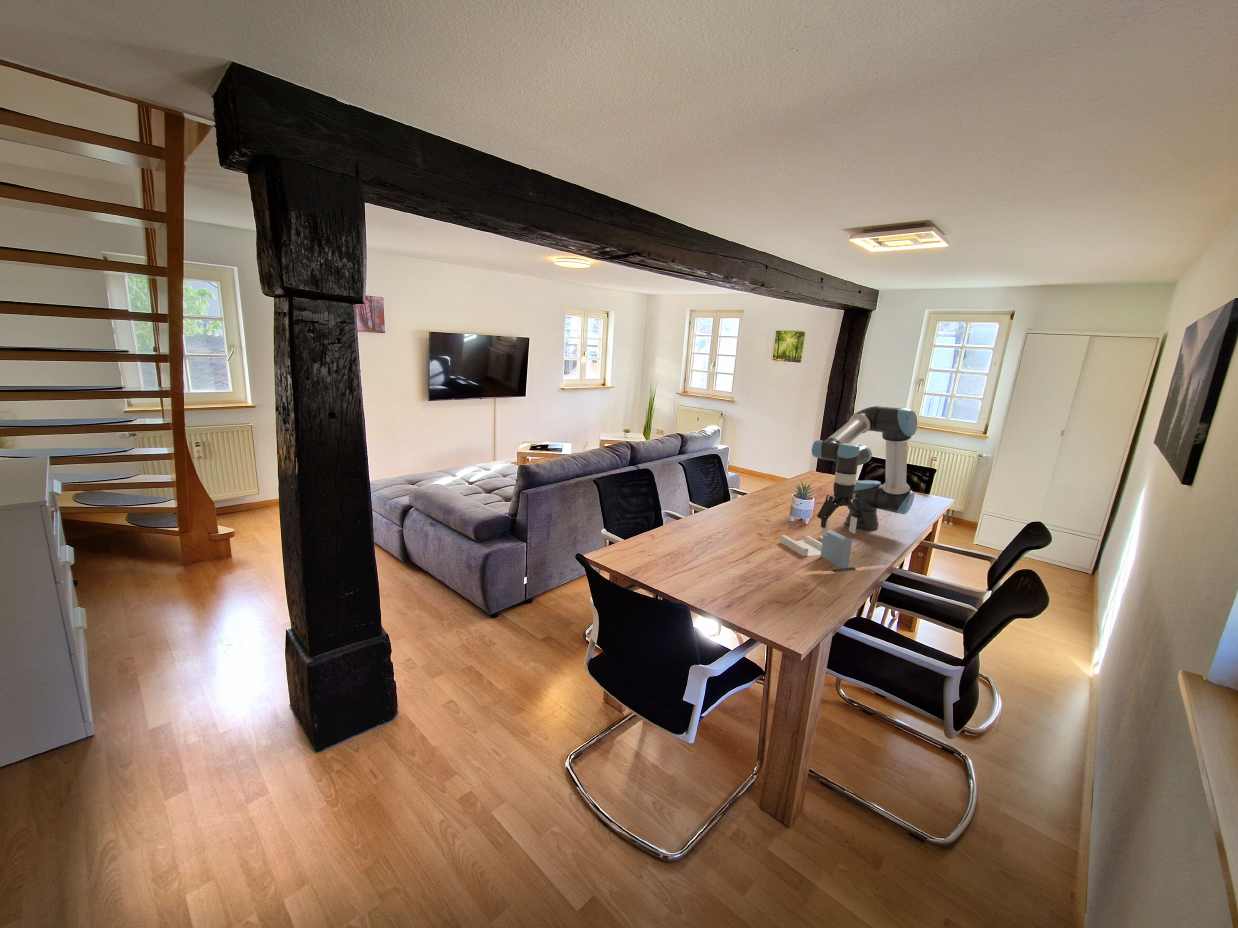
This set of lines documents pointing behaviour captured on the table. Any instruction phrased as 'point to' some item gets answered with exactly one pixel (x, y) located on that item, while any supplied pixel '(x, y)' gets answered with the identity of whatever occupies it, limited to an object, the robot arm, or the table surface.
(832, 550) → the blue-grey square block
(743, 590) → the table surface
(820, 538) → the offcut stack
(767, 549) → the table surface
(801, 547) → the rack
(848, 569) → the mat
